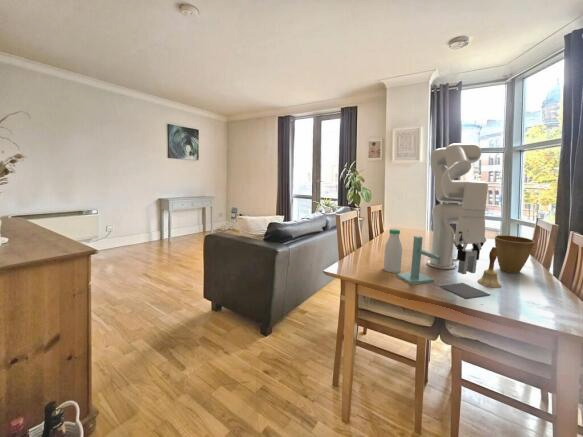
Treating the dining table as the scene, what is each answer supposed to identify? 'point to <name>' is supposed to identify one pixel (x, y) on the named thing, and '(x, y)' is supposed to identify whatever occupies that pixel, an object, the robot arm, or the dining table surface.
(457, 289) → the mat
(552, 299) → the dining table surface
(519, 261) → the plant pot
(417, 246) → the stand
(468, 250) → the link
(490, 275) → the hand bell
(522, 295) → the dining table surface
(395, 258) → the milk bottle
